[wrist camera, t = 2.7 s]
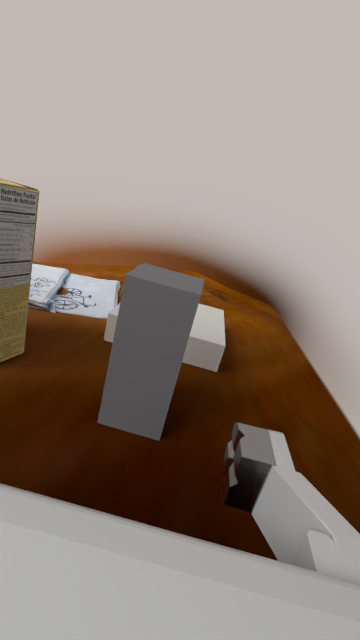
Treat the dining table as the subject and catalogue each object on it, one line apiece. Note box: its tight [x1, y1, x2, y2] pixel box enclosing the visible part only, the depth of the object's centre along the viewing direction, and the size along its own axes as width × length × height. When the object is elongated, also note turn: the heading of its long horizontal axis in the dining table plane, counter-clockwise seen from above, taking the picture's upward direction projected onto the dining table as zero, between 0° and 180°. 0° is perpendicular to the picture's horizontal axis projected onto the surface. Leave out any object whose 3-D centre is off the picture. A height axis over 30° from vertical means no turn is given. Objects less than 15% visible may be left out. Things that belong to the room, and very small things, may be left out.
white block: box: [104, 303, 226, 372], centre depth 42 cm, size 14×14×4 cm
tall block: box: [97, 263, 204, 441], centre depth 24 cm, size 5×5×12 cm
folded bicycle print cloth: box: [28, 264, 121, 319], centre depth 48 cm, size 19×20×2 cm
